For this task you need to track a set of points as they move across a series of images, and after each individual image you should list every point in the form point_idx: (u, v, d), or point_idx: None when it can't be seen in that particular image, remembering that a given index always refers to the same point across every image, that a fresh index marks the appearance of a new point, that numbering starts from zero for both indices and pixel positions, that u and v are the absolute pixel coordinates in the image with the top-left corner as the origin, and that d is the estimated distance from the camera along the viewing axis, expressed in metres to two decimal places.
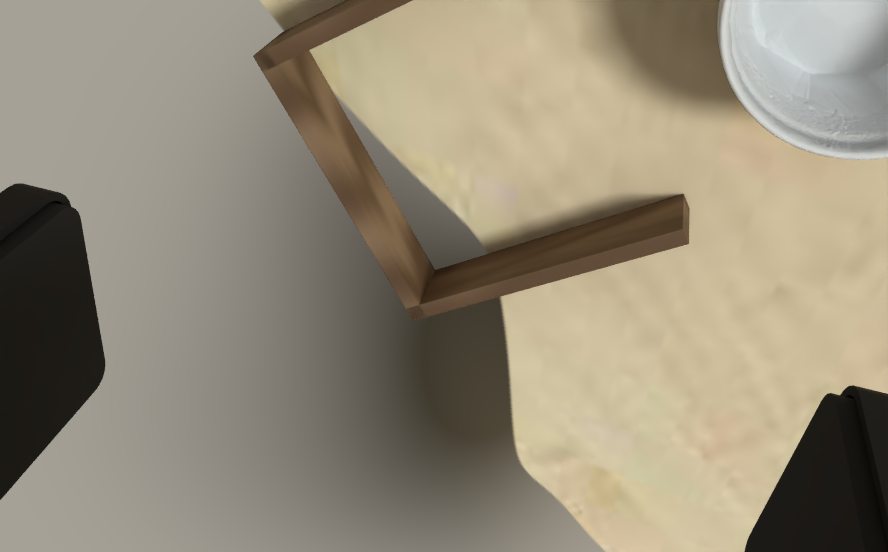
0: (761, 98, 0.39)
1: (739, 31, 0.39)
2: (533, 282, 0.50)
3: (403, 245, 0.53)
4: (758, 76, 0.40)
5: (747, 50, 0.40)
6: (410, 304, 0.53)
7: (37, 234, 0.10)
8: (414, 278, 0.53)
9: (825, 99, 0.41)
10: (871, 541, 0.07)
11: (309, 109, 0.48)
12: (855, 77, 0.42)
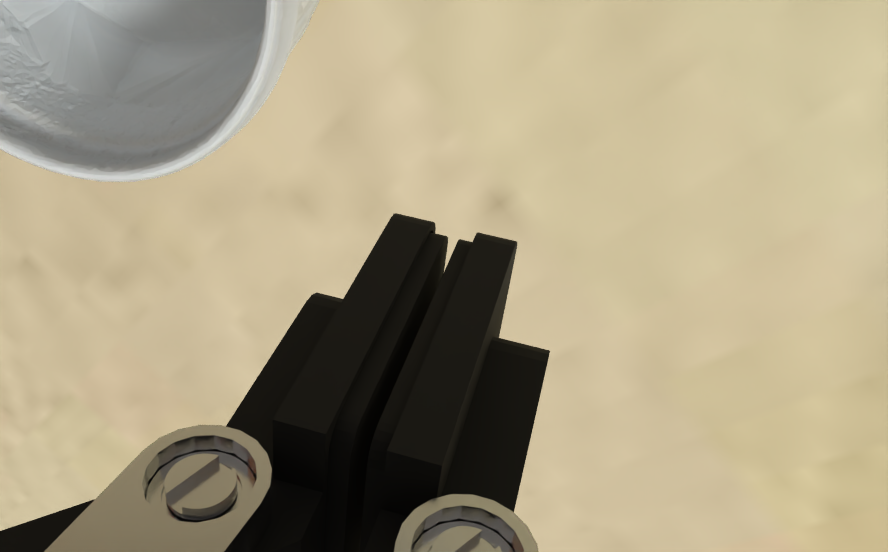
0: None
1: None
2: None
3: None
4: None
5: None
6: None
7: (432, 264, 0.10)
8: None
9: (50, 41, 0.27)
10: (425, 333, 0.09)
11: None
12: (122, 35, 0.28)
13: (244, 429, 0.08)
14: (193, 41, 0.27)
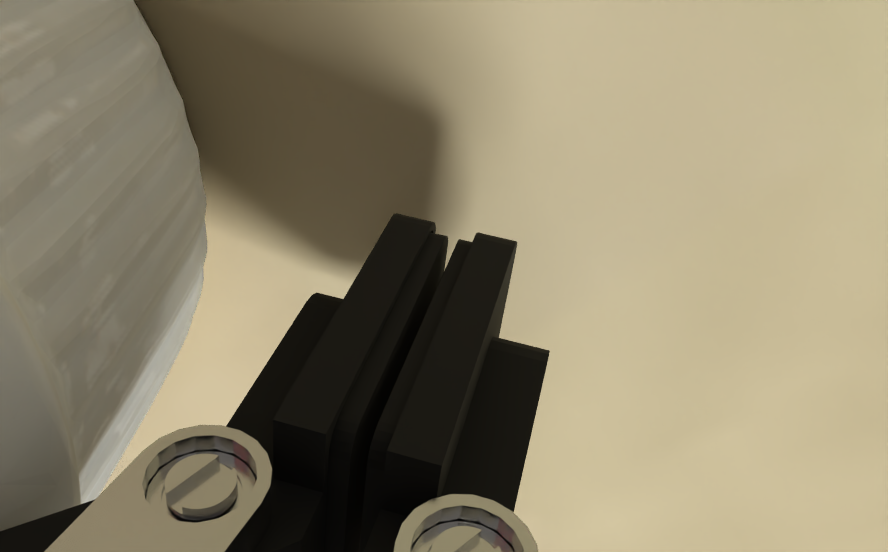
0: None
1: None
2: None
3: None
4: None
5: None
6: None
7: (432, 264, 0.10)
8: None
9: None
10: (425, 333, 0.09)
11: None
12: None
13: (244, 429, 0.08)
14: None
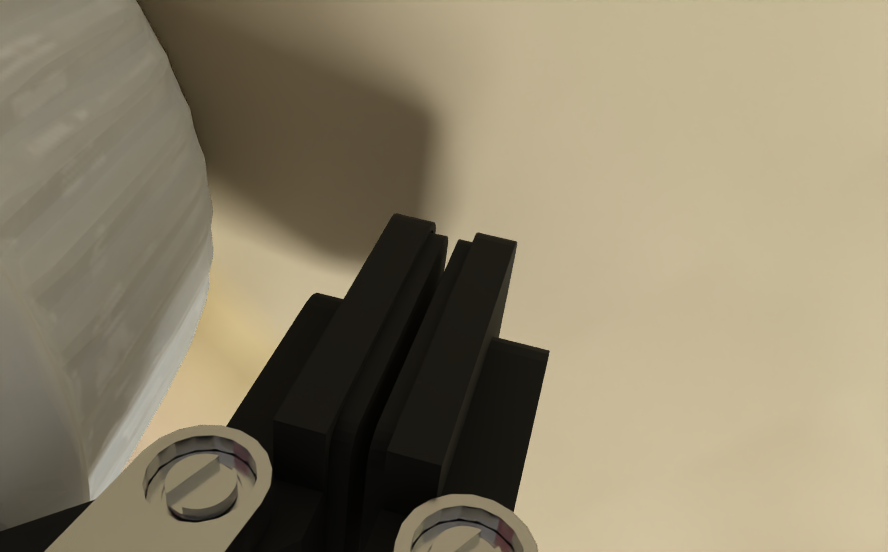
0: None
1: None
2: None
3: None
4: None
5: None
6: None
7: (432, 264, 0.10)
8: None
9: None
10: (425, 333, 0.09)
11: None
12: None
13: (244, 429, 0.08)
14: None
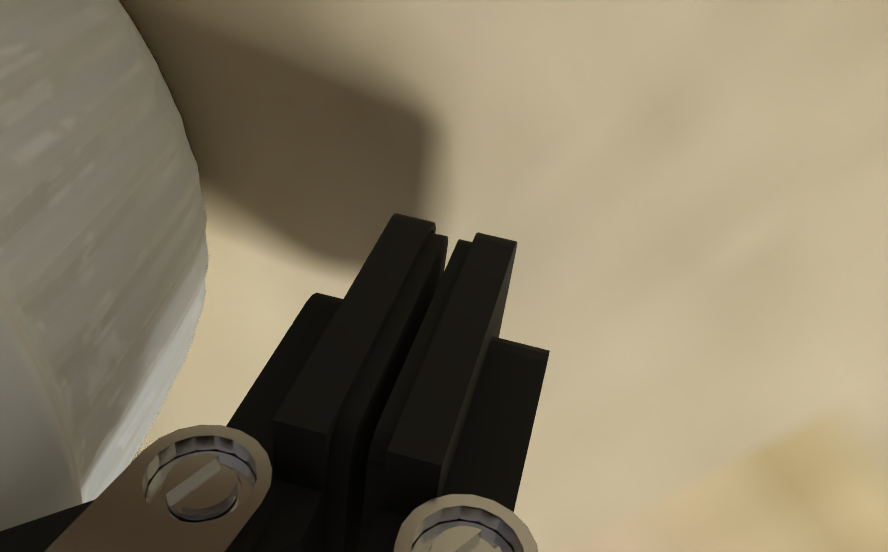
0: None
1: None
2: None
3: None
4: None
5: None
6: None
7: (432, 264, 0.10)
8: None
9: None
10: (425, 333, 0.09)
11: None
12: None
13: (244, 429, 0.08)
14: None
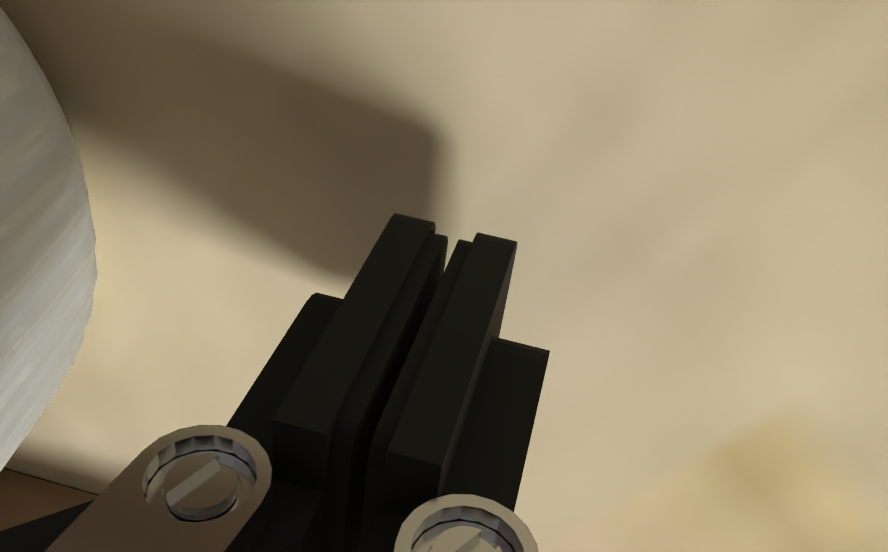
0: None
1: None
2: None
3: None
4: None
5: None
6: None
7: (432, 264, 0.10)
8: None
9: None
10: (425, 333, 0.09)
11: None
12: None
13: (244, 429, 0.08)
14: None
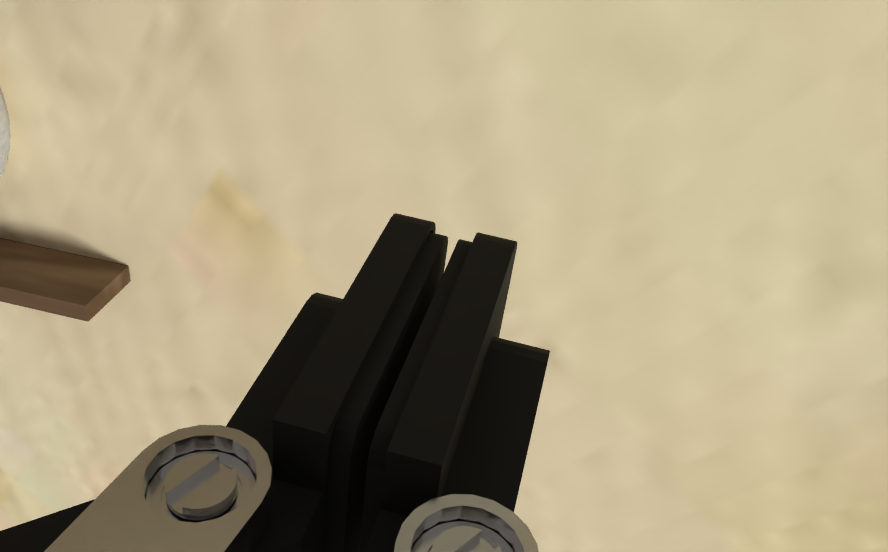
0: None
1: None
2: None
3: None
4: None
5: None
6: None
7: (432, 264, 0.10)
8: None
9: None
10: (425, 332, 0.09)
11: None
12: None
13: (244, 429, 0.08)
14: None
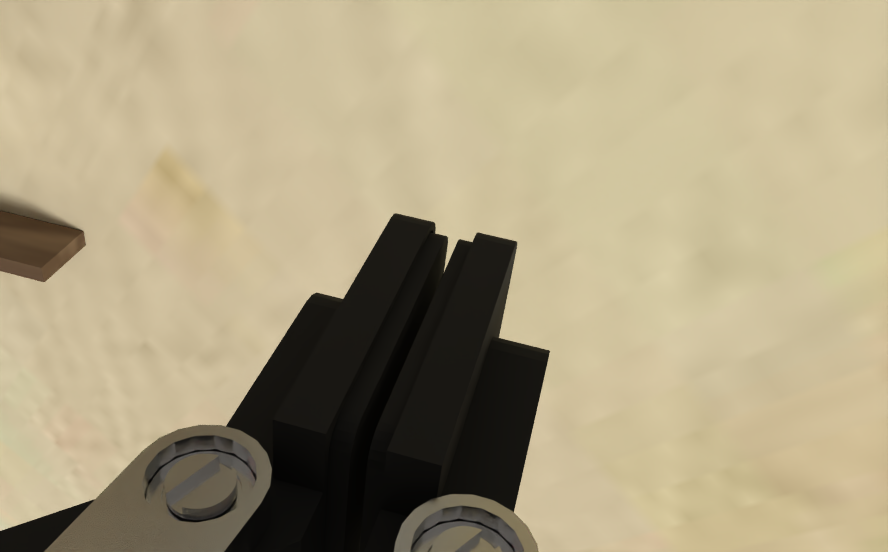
0: None
1: None
2: None
3: None
4: None
5: None
6: None
7: (433, 263, 0.10)
8: None
9: None
10: (425, 332, 0.09)
11: None
12: None
13: (244, 429, 0.08)
14: None
